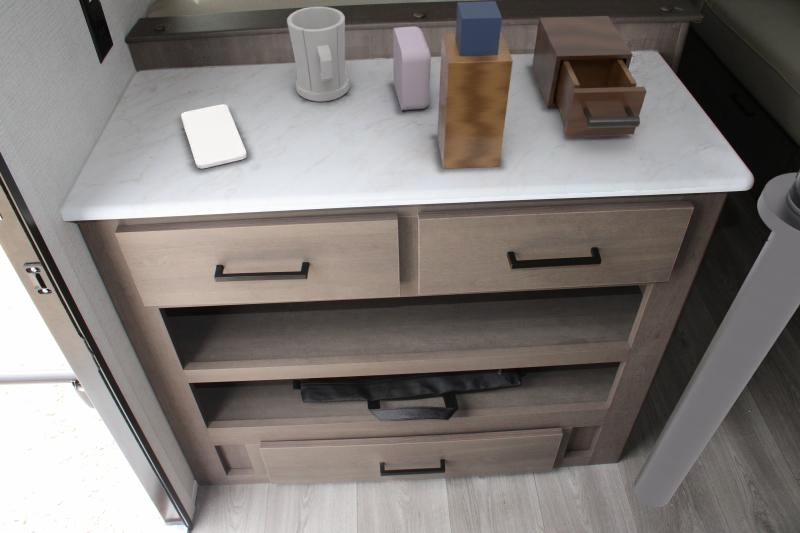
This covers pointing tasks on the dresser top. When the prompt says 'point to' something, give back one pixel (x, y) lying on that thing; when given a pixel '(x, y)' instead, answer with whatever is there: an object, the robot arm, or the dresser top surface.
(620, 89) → the drawer
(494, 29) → the block
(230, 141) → the smartphone
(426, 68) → the electronic device
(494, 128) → the stand
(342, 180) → the dresser top surface
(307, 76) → the cup
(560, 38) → the cabinet
